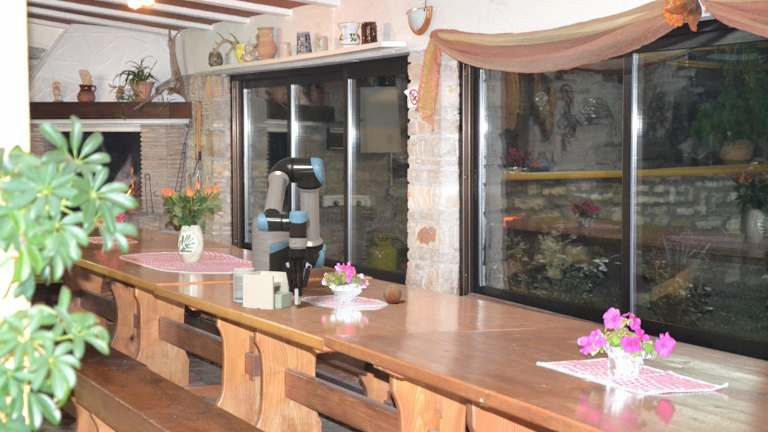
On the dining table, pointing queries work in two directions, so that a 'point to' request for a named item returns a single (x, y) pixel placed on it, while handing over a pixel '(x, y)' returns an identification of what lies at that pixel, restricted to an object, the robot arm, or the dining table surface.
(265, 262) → the vase
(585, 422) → the dining table surface
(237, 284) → the supplement tub
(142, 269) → the dining table surface
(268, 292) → the box
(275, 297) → the tray
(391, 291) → the fruit
